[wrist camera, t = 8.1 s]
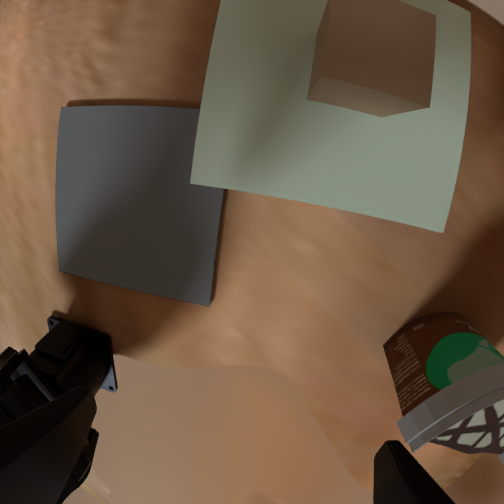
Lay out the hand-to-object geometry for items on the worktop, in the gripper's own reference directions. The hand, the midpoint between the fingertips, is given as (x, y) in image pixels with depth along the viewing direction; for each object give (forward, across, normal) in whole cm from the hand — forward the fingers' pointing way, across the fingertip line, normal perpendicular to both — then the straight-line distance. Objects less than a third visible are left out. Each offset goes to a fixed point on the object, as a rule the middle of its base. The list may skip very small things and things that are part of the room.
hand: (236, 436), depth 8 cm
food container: (+13, -15, +3) cm, 20 cm away
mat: (+12, +9, -3) cm, 16 cm away
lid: (+8, -2, -11) cm, 13 cm away
